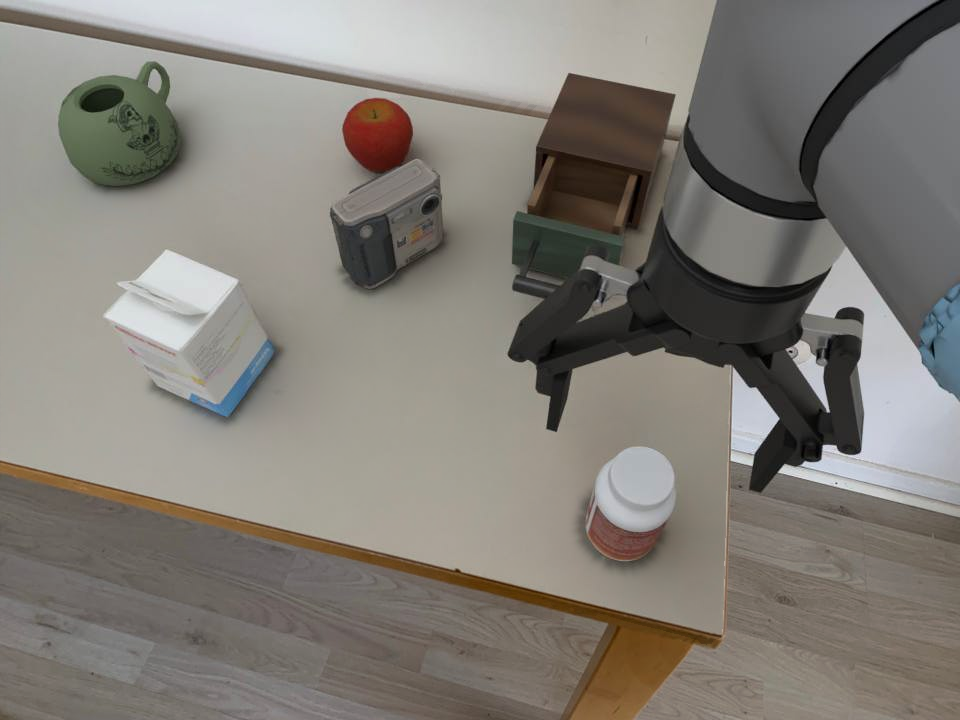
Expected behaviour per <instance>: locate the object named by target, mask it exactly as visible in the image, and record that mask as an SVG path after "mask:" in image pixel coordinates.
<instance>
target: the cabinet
mask: <svg viewBox="0 0 960 720" xmlns="http://www.w3.org/2000/svg"><path fill="white" fill-rule="evenodd" d="M676 95H677V94H676V93H672V92H666V91H661V90H657V89H652V88H646V87H642V86H638V85H632V84H627V83H623V82H622V83H621V82H617V81H611V80H606V79H601V78H597V77H591V76H587V75H582V74H577V73H572V72H568V73H567V75H566V77H565V79H564V82H563V84H562V87H561V88H560V91H559V93H558V96H557V98H556V100H555V103H554V105H553V107H552V109H551V111H550V113H549V114H550V115H549V116H548V118H547V120H546V122H545V125H544V127H543V129H542V131H541V134H540V136H539V139H538V141H537V142H536V146H535V160H534V176H533V189H534V188H535V186H536V183H537V181H538V179H539V176H540V174H541V172H542V169H543V167H544V164H545V162H546V160H547V157H548V155H553V156H557V157H562V158H566V159H571V160H575V161H580V162H584V163H589V164H593V165H598V166H602V167H606V168H611V169H615V170H620V171H624V172H629V173H633V174H638V175H639V177H638V181H637V186H636V190H635V195H634V199H633V204H632V208H631V211H630V214H629V218H628V221H627V224H626V227H625V229H631V230H636V231H638V230H639V227H640V224H641V221H642V218H643V214H644V211H645V207H646V205H647V201H648V198H649V196H650V195H649V194H650V191H651V188H652V185H653V182H654V178H655V175H656V172H657V169H658V165H659V162H660V159H661V156H662V153H663V148H664V143H665V139H666V135H667V132H668V127H669V125H670V124H669V123H670V120H671V116H672V113H673V112H672V111H673V108H674V104H675V100H676Z"/></svg>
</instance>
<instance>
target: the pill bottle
mask: <svg viewBox="0 0 960 720" xmlns="http://www.w3.org/2000/svg"><path fill="white" fill-rule="evenodd" d="M675 482H676V476H675V470H674V468H673V465H672V464H671V463H670V461H669V459H668V458H667V457H666V456H665V455H664V454H662V453H661V452H659V451H658V450H656V449H654V448H652V447H648V446H641V445H636V446H630V447H627V448H625V449H623V450H621V451H620V452H619V453H618V454H616V456H615V457H614V458H611V459H610V460H609V461H608V462H606V463H605V464H604V465H603V466H602V468H601V469H600V470H599V472H598V474H597V477H596V479H595V482H594V486H593V489H592V492H591V496H590V500H589V503H588V505H587V506H588V507H587V510H586V515H585V523H584V524H585V530H586V534H587V537H588V539H589V541H590V543H591V544H592V546H594V548H595V549H596V551H598V552H600V554H602V555H603V556H605V557H607V558H609V559H611V560H614V561H620V562H631V561H636V560H639V559H641V558H643V557H645V556H646V555H647V554H648V553H649V552H650V551H651V550H652V549H653V548H654V546H655V544H656V543H657V541H658V540H659V537H660V536H661V533H662V531H663V530H664V528H665V526H666V524H667V523H668V521H669V519H670V517H671V516H672V513H673V511H674V509H675V506H676V502H677V489H676V485H675Z"/></svg>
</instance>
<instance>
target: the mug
mask: <svg viewBox="0 0 960 720" xmlns="http://www.w3.org/2000/svg"><path fill="white" fill-rule="evenodd" d="M153 70H156V71H157V73H158V75H159V76H160V81H161V84H160V88H159V89H158V92H157V93H156V91H155V90H153V89H152V88H150V87H149V82H150V81H149V80H150V77H151V73H152V71H153ZM170 89H171V81H170V76H169V74H168V72H167V70H166V68H165V67H163V66H162V65H161V64H160V63H159V62H157V61H156V60H155V61H152V60H151V61H146V62H145V63H144V64H143V65H142V66H141V68H140V70H139V73H138V75H137V77H136V78H132V77H129V76H124V75H123V76H122V75H117V74H110V75H100V76H97V77H94V78H91V79H89V80H85V81H83V82H82V83H80V84H78V85H77V86H75V87H74V88H72V89H71V90H70V92H69V93H68V94H67V95H66V96H65V98H64V99H63V100H62V102H61V105H60V109H59V113H58V117H57V118H58V119H57V120H58V121H57V127H58V135H59V138H60V140H61V144H62V145H63V148H64V151H65V153H66V155H67V158H68V160H69V162H70V164H71V165H72V166H73V167H74V168H75V169H76V170H77V171H78V173H79V174H80V175H82V176H84V177H85V178H86V179H88V180H90V181H91V182H93V184H98V185H99V184H100V185H104V186H105V185H106V186H110V187H117V186H127V185H136V184H139V183H141V182H145V181H148V180H150V179H152V178H154V177H155V176H157V175H158V174H160V173H161V172H162V171H164V170H165V169H166V168H167V167H169V166H170V165H171V164H172V162H173V161H174V160H175V158H176V156H177V155H178V153H179V152H180V150H181V142H182V141H181V139H182V136H181V131H180V126H179V123H178V121H177V119H176V117H175V116H174V114H173V112H172V111H171V109H170V108H169V106H168V105H167V100H168V98H169V95H170V91H171V90H170Z"/></svg>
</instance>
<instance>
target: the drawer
mask: <svg viewBox="0 0 960 720" xmlns="http://www.w3.org/2000/svg"><path fill="white" fill-rule="evenodd" d="M638 177H639V175H638V174H633V173H629V172H624V171H620V170H615V169H611V168H606V167H602V166H598V165H593V164H589V163H584V162H580V161H575V160H571V159H566V158H562V157H557V156H553V155H548V157H547V160H546V162H545V164H544V167H543V169H542V172H541V174H540V176H539V179H538V181H537V183H536V186H535V188H534V187H533V191H532V192H531V195H530V198H529V200H528V202H527V207H526V208H527V209H526V211H527V212H523V211H520V210H519V211H518V210H517V211H516V212H515V214H514V216H513V218H512V245H511V265H514V266H517V267H521V270H520V272H519V274H515V276H514V278H513V281H512V286H511V290H512V291H513V292H516V293H520V294H524V295H528V296H532V297H535V298H539V299H543V300H544V299H546V298H547V297H548V296H549V295H550V294H551V293H552V292H553V291H555V290H556V289H557V288H558V287H559V286H560V285H561V284H560V285H559V284H556V283H552V282H547V281H544V280H540V279H536V278H532V277H528V274H529V273H528V272H529V270H534V271H538V272H542V273H546V274H549V275H553V276H557V277H561V278H565V279H568V278H569V277H571V276H572V275H573V274H574V273H575V272H576V271H577V270H579V269H580V266H581V263H582V260H583V257H584V254H585V251H586V249H587V247H588V246H590V245H595V244H596V245H601V246H603V247H605V248H606V249H607V250H608V252H609V257H608V260H607V262H609V263H613V264H616V265H619V266H620V264H621V258H622V254H623V250H624V245H625V240H626V236H624V233H625V230H626V224H627V221H628V218H629V214H630V211H631V208H632V204H633V199H634V195H635V190H636V186H637V181H638Z"/></svg>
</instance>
